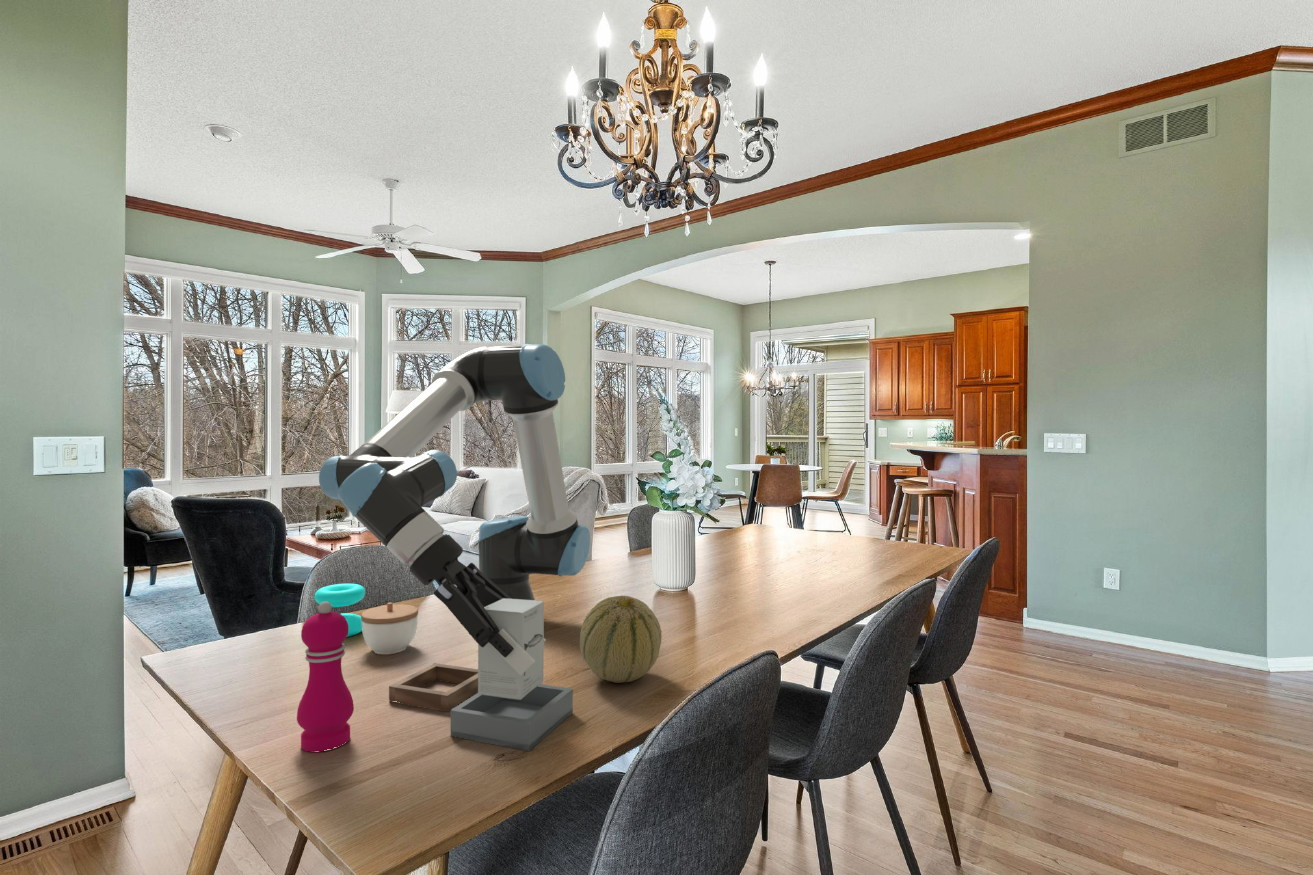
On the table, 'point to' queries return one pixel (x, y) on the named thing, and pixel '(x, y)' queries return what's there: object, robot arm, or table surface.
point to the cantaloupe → (620, 639)
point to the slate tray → (512, 717)
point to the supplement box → (528, 632)
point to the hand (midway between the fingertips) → (533, 656)
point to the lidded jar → (389, 627)
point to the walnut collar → (416, 695)
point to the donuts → (343, 602)
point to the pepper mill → (325, 683)
